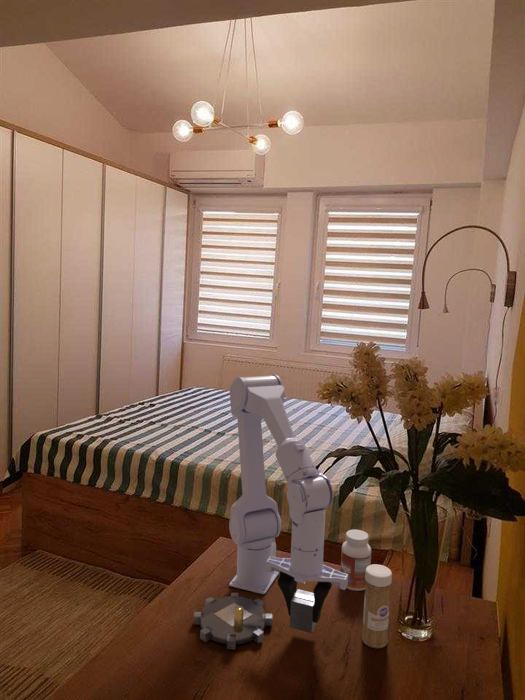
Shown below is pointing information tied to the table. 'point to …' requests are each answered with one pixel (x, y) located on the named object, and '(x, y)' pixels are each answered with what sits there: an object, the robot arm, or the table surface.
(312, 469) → the robot arm
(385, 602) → the sprinkles bottle
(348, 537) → the pill bottle
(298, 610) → the grooved silver cube
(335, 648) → the table surface
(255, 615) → the sprocket
